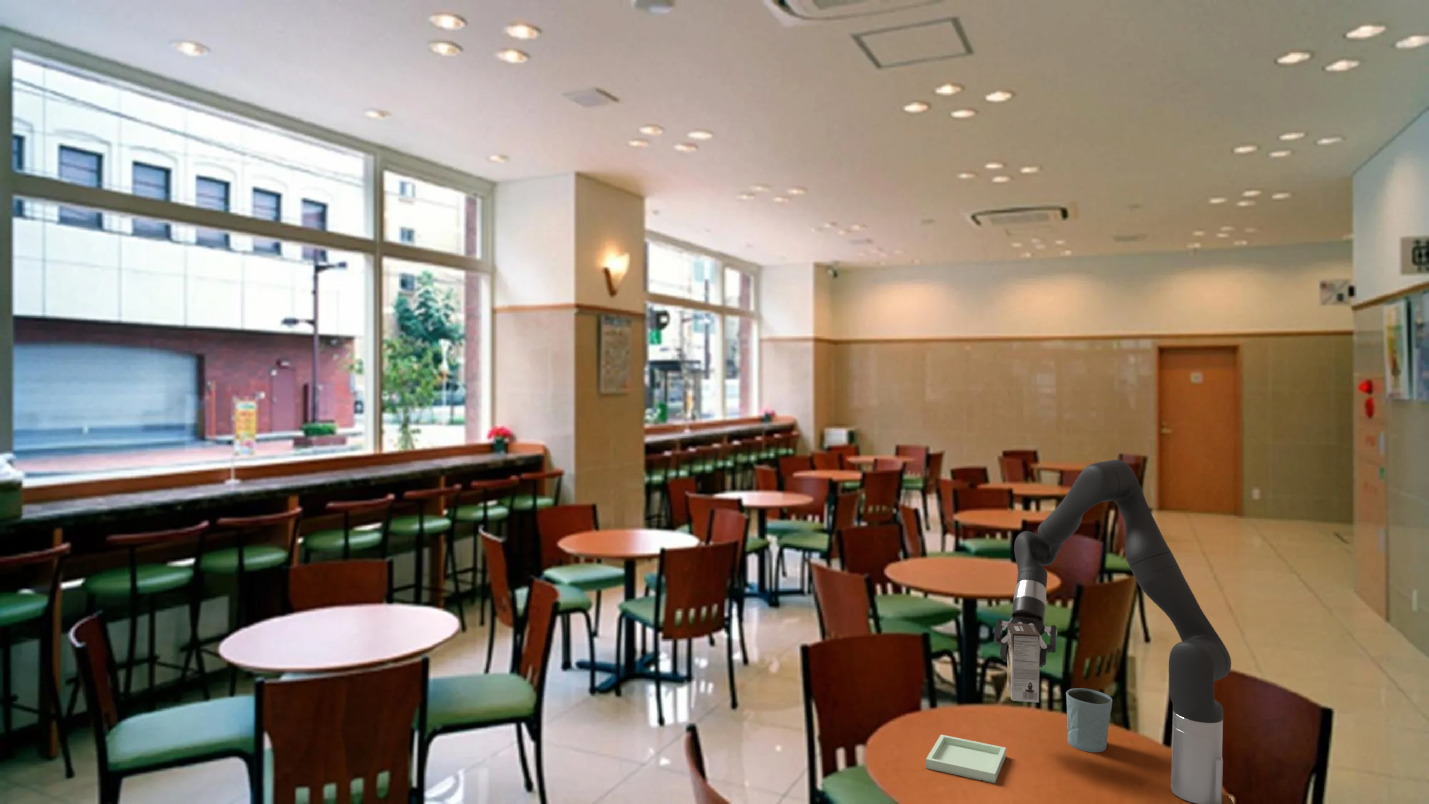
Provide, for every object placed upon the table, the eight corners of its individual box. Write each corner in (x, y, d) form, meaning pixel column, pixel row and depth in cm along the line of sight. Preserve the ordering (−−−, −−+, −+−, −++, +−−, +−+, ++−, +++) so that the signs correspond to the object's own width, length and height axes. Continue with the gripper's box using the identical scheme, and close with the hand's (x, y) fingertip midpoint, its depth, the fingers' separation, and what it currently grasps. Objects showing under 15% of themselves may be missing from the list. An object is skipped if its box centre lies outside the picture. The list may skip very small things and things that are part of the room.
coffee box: (1006, 687, 206) (1006, 622, 206) (1033, 689, 205) (1034, 623, 204) (1011, 701, 197) (1012, 632, 197) (1040, 703, 196) (1041, 634, 196)
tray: (1005, 756, 197) (1005, 747, 197) (994, 783, 183) (995, 773, 183) (940, 742, 204) (940, 734, 204) (925, 767, 190) (925, 758, 190)
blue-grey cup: (1059, 734, 209) (1060, 686, 209) (1102, 736, 208) (1103, 688, 208) (1073, 752, 199) (1074, 702, 199) (1117, 755, 198) (1119, 704, 198)
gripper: (997, 591, 210) (989, 650, 200) (1059, 598, 204) (1053, 659, 194) (1001, 607, 215) (992, 666, 205) (1061, 614, 209) (1055, 675, 199)
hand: (1022, 662), depth 200 cm, fingers closed on coffee box, 7 cm apart
